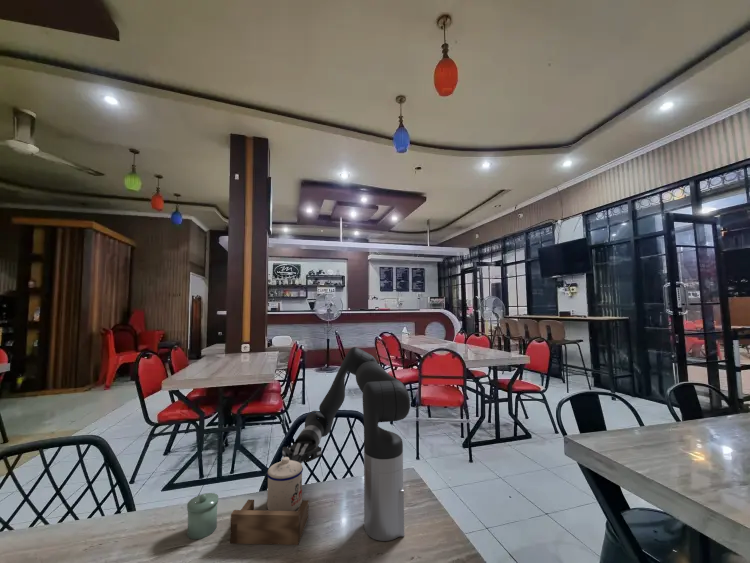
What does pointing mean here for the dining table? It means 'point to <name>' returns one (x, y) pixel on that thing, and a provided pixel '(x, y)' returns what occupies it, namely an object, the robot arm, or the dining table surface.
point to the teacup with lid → (284, 485)
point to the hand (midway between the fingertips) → (294, 465)
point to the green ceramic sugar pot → (202, 515)
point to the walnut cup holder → (268, 525)
